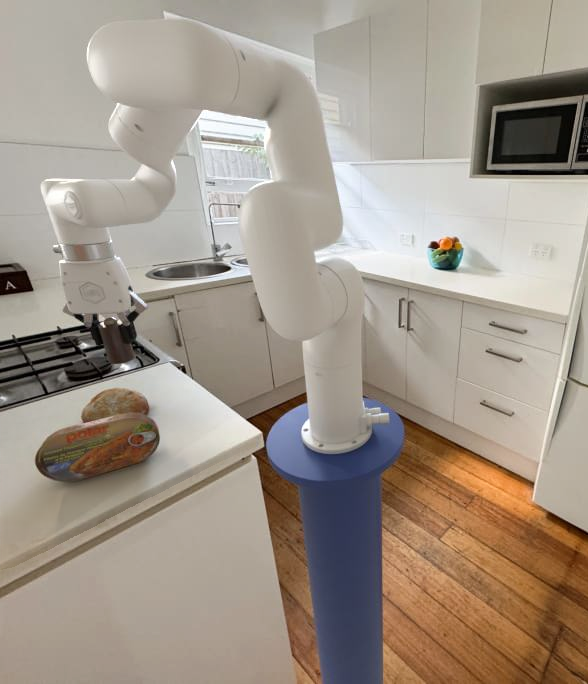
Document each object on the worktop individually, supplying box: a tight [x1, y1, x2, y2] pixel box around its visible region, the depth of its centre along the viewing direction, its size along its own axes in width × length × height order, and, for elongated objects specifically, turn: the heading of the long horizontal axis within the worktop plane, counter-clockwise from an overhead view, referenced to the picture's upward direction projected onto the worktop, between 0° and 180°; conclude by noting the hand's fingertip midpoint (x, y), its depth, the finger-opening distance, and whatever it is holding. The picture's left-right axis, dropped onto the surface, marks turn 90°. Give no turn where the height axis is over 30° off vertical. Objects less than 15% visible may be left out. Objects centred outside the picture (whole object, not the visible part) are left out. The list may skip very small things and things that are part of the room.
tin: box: [34, 413, 161, 483], centre depth 59 cm, size 15×3×8 cm, turn 122°
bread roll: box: [80, 387, 150, 423], centre depth 71 cm, size 10×10×8 cm
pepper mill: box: [97, 316, 136, 365], centre depth 77 cm, size 4×4×9 cm
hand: (116, 341), depth 77 cm, fingers closed on pepper mill, 4 cm apart
